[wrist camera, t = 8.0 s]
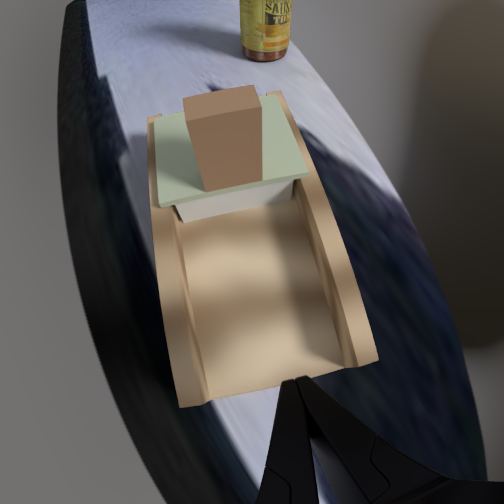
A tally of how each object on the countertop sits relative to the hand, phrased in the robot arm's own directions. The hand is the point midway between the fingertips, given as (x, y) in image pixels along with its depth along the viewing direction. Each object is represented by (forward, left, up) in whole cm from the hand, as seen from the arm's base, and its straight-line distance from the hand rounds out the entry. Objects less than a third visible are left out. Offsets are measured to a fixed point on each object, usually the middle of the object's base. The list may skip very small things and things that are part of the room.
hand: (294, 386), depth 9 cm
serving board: (+8, +8, -13) cm, 17 cm away
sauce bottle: (+32, +20, -13) cm, 41 cm away
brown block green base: (+12, +12, -9) cm, 19 cm away
